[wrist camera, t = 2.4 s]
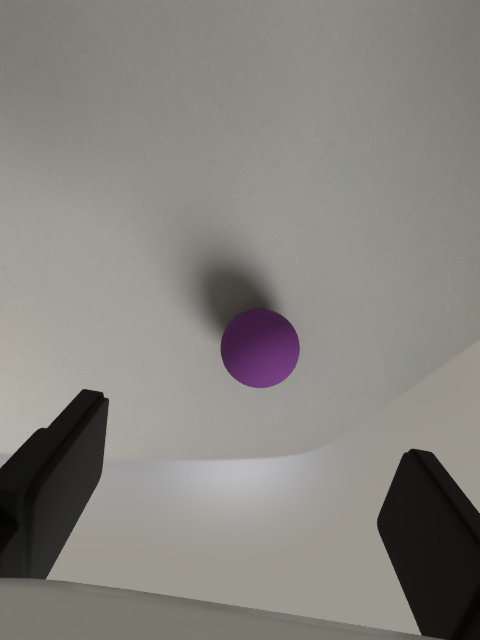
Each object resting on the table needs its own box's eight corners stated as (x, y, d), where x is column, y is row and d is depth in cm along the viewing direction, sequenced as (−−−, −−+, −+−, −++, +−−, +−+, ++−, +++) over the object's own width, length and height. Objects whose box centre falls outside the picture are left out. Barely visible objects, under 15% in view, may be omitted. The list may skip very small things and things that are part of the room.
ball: (302, 308, 21) (314, 332, 17) (285, 373, 23) (292, 410, 18) (231, 294, 21) (225, 314, 17) (218, 359, 22) (210, 394, 18)
